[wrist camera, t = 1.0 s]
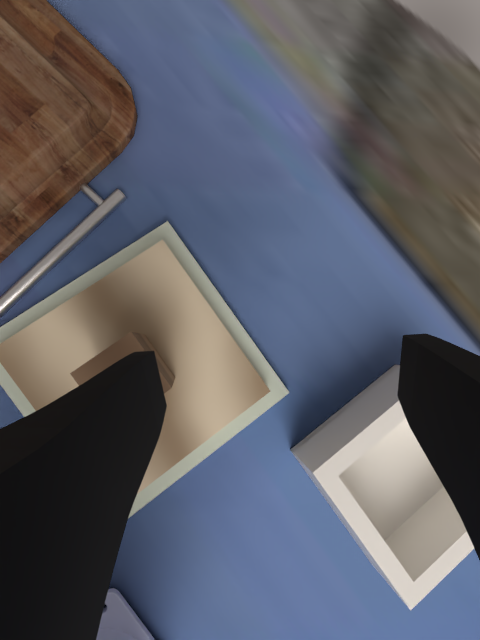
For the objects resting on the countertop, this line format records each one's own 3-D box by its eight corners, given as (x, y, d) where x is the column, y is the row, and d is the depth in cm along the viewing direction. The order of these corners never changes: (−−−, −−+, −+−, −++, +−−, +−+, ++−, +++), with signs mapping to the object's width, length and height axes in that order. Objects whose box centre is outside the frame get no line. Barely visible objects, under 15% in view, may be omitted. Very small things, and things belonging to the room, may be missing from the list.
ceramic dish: (371, 563, 22) (410, 610, 18) (290, 449, 22) (312, 472, 18) (469, 472, 24) (525, 497, 20) (394, 364, 23) (436, 368, 20)
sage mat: (111, 528, 20) (110, 532, 20) (-25, 345, 20) (-29, 345, 19) (287, 391, 22) (289, 392, 22) (167, 223, 22) (167, 221, 21)
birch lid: (114, 506, 20) (85, 572, 14) (-2, 349, 20) (-80, 351, 14) (267, 389, 22) (296, 406, 16) (163, 243, 21) (154, 206, 16)
